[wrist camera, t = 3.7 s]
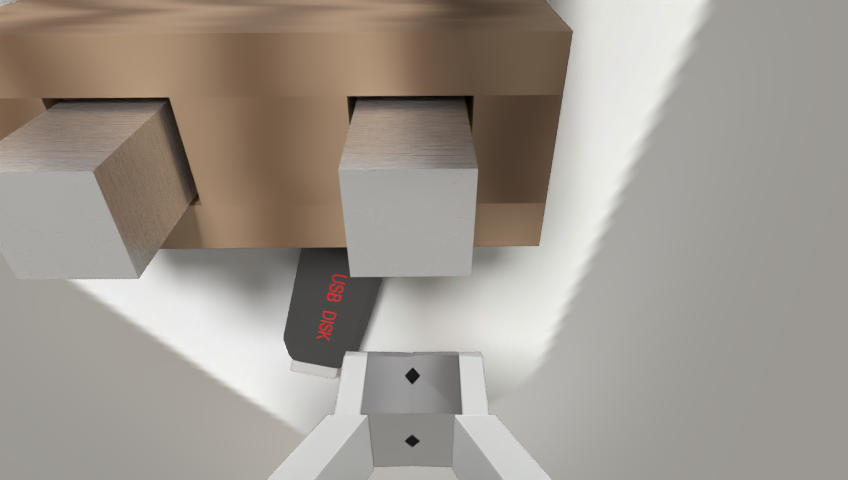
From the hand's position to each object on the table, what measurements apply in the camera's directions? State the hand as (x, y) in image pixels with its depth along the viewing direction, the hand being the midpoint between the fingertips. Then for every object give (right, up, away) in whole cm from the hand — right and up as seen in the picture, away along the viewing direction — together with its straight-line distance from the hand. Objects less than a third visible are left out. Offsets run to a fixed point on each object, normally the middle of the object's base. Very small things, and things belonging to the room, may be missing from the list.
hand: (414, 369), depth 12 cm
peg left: (-11, +7, +10) cm, 17 cm away
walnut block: (-6, +11, +15) cm, 19 cm away
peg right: (0, +7, +10) cm, 13 cm away
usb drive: (-6, -1, +24) cm, 25 cm away
